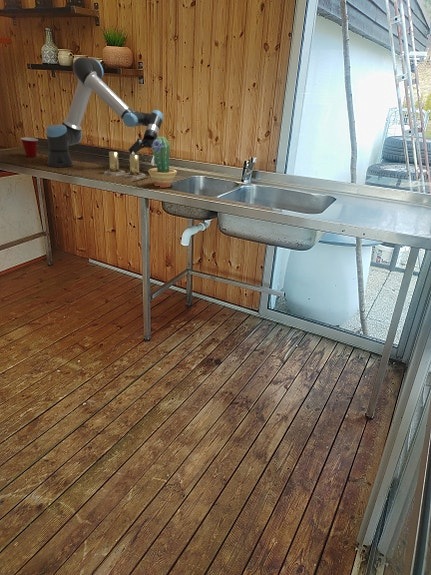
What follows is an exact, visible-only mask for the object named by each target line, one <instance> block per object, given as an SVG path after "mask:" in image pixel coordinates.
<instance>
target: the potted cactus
mask: <svg viewBox="0 0 431 575" xmlns="http://www.w3.org/2000/svg"><path fill="white" fill-rule="evenodd" d="M151 146H152V147H151V149H152V154H153V155H154V157H155V160H156V161H155V163H156V167H154V168H153V167H152V168H150V169H148V170H147V172H148V174H149V175H150V177H151V180H152V182H153V183H154V185H155V186H154V187H156V186H160V187H159V188H169V187H171V186H172V182H173V181H174V180H175V176H176V175H177V173H178V171H177V170H176V169H172V168H170V160H169V158H170V154H171V145H170V143H169V141H168V139H167V137H165V136H157V138H156V139H155V141H154V142H153V144H152V145H151Z"/></svg>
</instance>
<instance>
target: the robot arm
mask: <svg viewBox="0 0 431 575" xmlns="http://www.w3.org/2000/svg"><path fill="white" fill-rule="evenodd" d="M72 70H73V73H74V75H75V77H76V79H77V86H76V89H75V92H74V95H73V97H72V100H71V104H70V107H69V110H68V113H67V117H66V119H63V120H62V124H50V125H48V126H46V130H45V132H46V140H47V146H48V156H47V161H46V164H47V166H48V167H51V168H68V167H72V166H74V162H73V160H72V158H71V157H72V156H71V154H70V151H69V147H70V146H77V145H78V144H79V143H80V142H81V141H82V138H83V137H82V136H83V134H82V126H81V124H82V122H83V121H82V120H83V118H84V116H85V112H86V109H87V106H88V102H89V101H90V97H91V96H92V92H93V93H95V94H96V95H97V96H98V97H99V98H100V99H101V100H102V101H104V103H105V104H106V105H107V106H108V107H109V108H111V110H113V112H115V114H116V115H118V117H119V118H120V119H121V120H122V122H123V124H124V125H125V126H126V127H129V128H134V127H135V128H136V127H139V126H143V127H146V129H145V132H144V135H143V138H142V139H140V138H137V139H136V141H135V142H134V143H133V144H132V145H131V147H129V148H128V151H129V153H130V154H136V153H138V152H139V151H140V150H142V149H145V148H146V149H147V148H149V149H150V148H151V149H152V146H151V145H152V144H153V142H154V141H155V139H156V138H157V137H159V136H158V135H159V132H160V129H161V126H162V124H163V119H164V114H163V113H162V112H161V111H160V110H158V109H154V110H152V111H151V113H149V112H142V111H137V110H135V111H134V110H132V109H131V107H129V106H128V105H127V104H126V103H125V101H123V100H122V99H121V98H120V97H119V96H118V95H117V94H116V93H115V92H114V91H113V90H112V89H111V88H110V87H109V86H108V85H107V84H106V83H105V82H104V81H103V80H102V78H103V77H104V68H103V66H102V64H101V63H100V62H99V61H98V60H96V59H94V58H89V57H83V56H79V57H78V58H76V59H75V60H74V62H73V63H72ZM129 162H130V159H129ZM155 163H156V160H155V157H154V155H153V156H152V159H151V162H150V165H151V166H152V167H154V166H155Z"/></svg>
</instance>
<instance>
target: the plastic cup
mask: <svg viewBox="0 0 431 575" xmlns="http://www.w3.org/2000/svg"><path fill="white" fill-rule="evenodd" d="M20 140H21V142H22V145H23V150H24V151H25V154H26V157H27V158H36V157H37V151H38V141H39V139H38V138H35V137H20Z"/></svg>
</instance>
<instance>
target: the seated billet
mask: <svg viewBox="0 0 431 575" xmlns="http://www.w3.org/2000/svg"><path fill="white" fill-rule="evenodd" d="M108 159H109V162H108V163H109V170H110V172H114V173H117V172H119V170H120V165H119V152H118V151H108Z"/></svg>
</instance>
